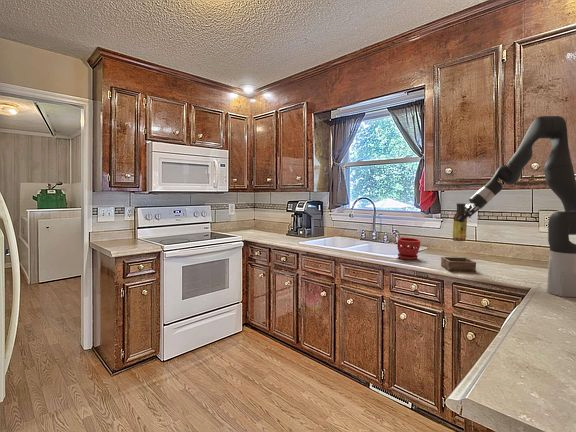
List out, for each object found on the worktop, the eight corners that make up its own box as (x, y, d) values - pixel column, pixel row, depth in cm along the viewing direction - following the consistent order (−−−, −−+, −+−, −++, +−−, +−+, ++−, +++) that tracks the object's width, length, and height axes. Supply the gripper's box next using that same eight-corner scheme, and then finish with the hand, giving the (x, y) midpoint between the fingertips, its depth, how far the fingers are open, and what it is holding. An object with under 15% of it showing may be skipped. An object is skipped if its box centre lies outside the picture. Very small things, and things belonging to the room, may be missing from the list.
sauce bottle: (462, 242, 166) (463, 203, 165) (450, 240, 171) (451, 203, 170) (468, 241, 170) (469, 203, 168) (456, 239, 175) (457, 202, 174)
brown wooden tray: (475, 272, 165) (476, 262, 165) (448, 271, 167) (449, 261, 167) (466, 266, 177) (466, 257, 177) (441, 265, 179) (441, 256, 179)
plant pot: (396, 259, 194) (397, 240, 194) (397, 255, 207) (397, 236, 206) (420, 261, 190) (421, 241, 189) (419, 256, 203) (419, 237, 202)
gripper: (470, 192, 175) (446, 214, 177) (482, 193, 161) (456, 216, 163) (480, 202, 175) (456, 224, 177) (493, 203, 160) (467, 227, 163)
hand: (456, 220), depth 170 cm, fingers closed on sauce bottle, 6 cm apart
